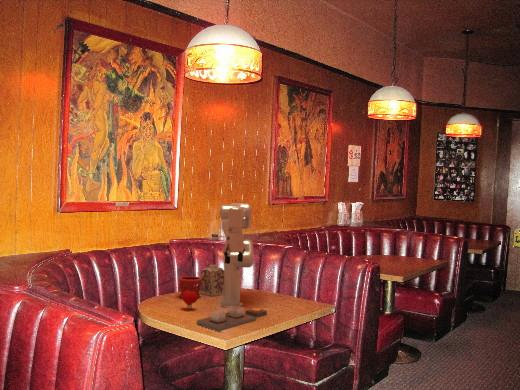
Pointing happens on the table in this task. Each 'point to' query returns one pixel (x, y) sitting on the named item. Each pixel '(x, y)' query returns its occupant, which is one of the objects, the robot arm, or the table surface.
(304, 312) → the table surface
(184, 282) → the plant pot
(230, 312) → the seated billet
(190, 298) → the light bulb
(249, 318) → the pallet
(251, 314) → the button housing
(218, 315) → the block
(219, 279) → the decorative jar
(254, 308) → the button
